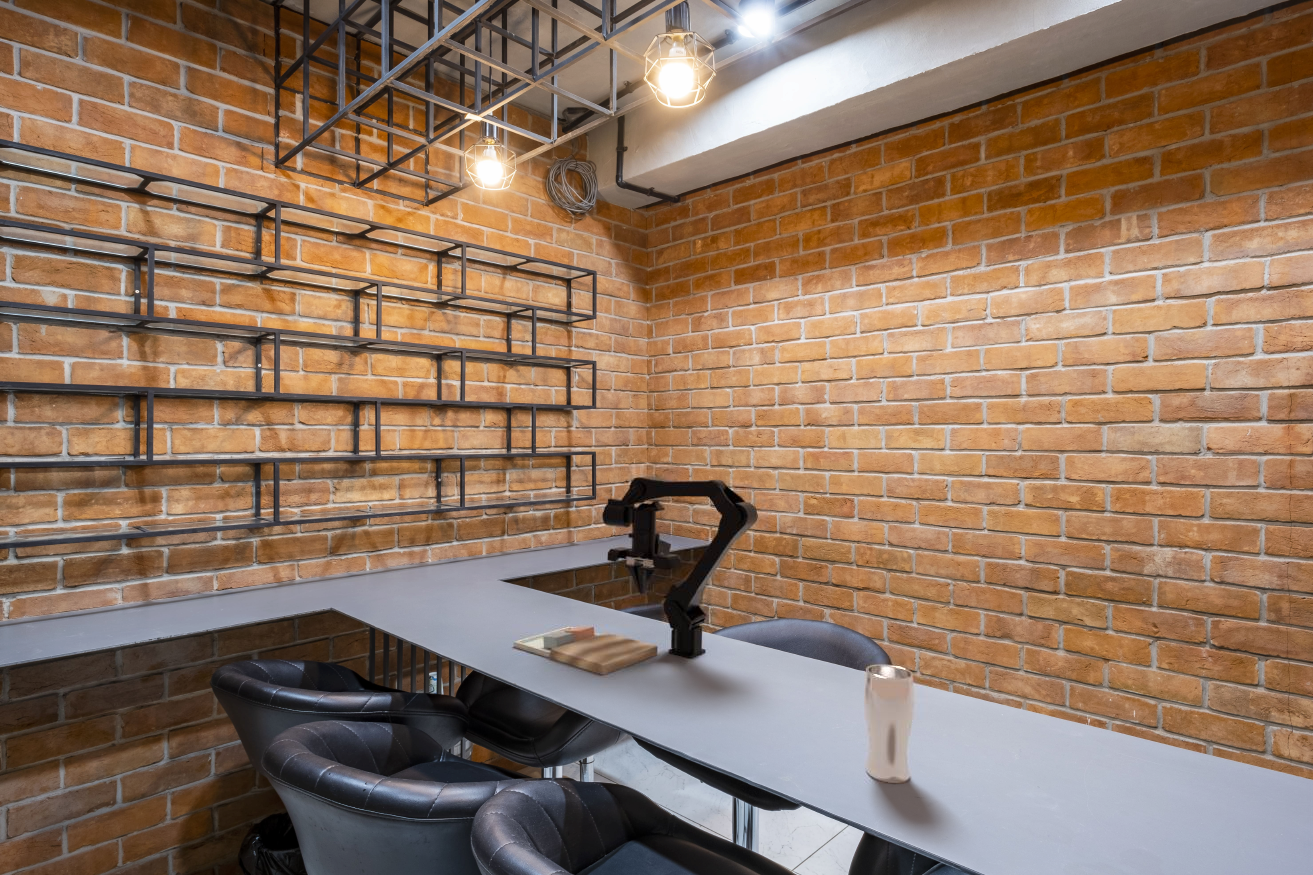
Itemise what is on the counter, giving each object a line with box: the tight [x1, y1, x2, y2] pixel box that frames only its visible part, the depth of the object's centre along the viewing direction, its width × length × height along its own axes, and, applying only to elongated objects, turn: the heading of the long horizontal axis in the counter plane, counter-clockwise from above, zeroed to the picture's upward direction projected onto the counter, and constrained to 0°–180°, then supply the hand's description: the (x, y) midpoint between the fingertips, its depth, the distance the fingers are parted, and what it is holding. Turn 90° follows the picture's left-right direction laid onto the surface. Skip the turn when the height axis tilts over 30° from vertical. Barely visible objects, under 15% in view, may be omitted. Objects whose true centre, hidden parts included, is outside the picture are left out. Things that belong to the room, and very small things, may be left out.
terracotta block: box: [564, 626, 595, 642], centre depth 160 cm, size 5×5×2 cm
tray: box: [513, 626, 601, 659], centre depth 159 cm, size 12×18×1 cm, turn 142°
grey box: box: [543, 632, 574, 648], centre depth 155 cm, size 5×5×2 cm
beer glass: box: [863, 664, 915, 784], centre depth 99 cm, size 7×7×15 cm
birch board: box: [550, 632, 658, 676], centre depth 150 cm, size 16×18×2 cm
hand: (642, 593), depth 160 cm, fingers closed
